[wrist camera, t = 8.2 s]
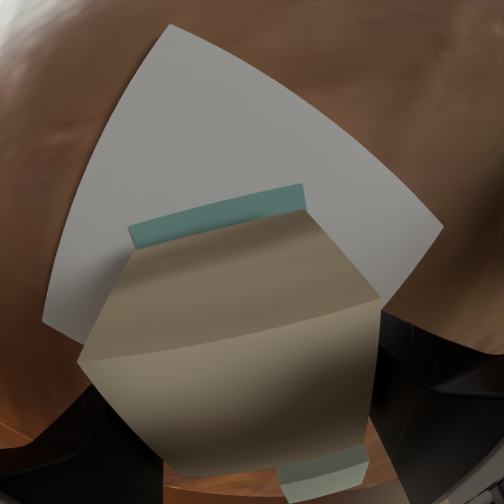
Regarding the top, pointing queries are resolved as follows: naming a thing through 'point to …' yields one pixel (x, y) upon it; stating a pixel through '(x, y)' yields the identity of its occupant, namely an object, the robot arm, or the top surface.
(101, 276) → the white square plate
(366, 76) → the top surface
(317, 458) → the sage block
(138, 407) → the maple block
